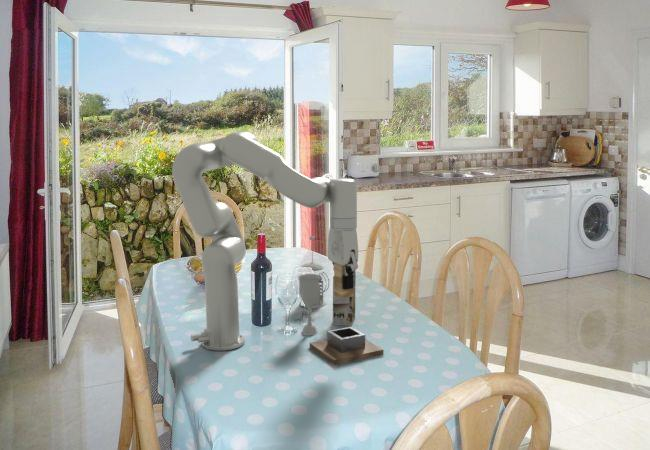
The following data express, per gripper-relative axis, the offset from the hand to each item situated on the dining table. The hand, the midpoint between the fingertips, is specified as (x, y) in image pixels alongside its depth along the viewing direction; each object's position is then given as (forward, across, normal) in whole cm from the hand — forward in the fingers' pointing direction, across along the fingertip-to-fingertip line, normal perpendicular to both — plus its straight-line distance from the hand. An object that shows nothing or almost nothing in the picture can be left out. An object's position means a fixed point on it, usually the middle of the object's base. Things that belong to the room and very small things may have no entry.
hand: (343, 286), depth 180 cm
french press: (+20, -44, +13) cm, 50 cm away
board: (+20, 0, +1) cm, 20 cm away
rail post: (+3, 0, 0) cm, 3 cm away
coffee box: (+20, -24, +13) cm, 34 cm away
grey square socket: (+18, 0, +1) cm, 18 cm away
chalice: (+20, -19, -2) cm, 28 cm away
